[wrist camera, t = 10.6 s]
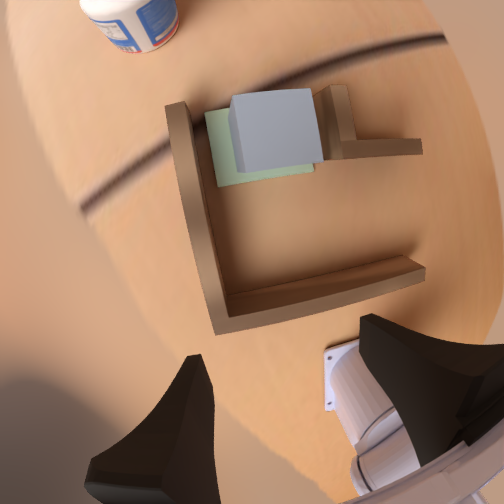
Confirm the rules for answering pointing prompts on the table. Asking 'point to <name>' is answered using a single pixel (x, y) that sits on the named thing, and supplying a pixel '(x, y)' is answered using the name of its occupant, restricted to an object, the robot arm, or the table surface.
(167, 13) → the pill bottle
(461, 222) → the table surface
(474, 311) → the table surface
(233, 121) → the block
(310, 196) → the table surface
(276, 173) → the pad
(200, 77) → the table surface
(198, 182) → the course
